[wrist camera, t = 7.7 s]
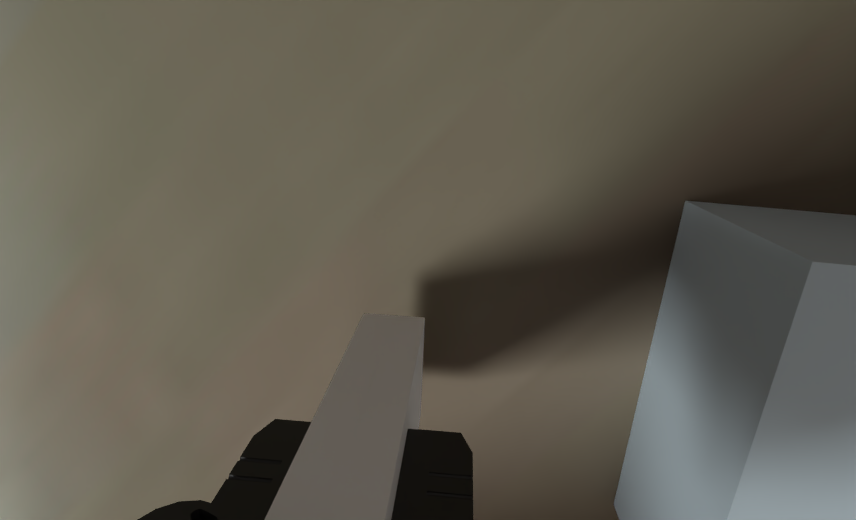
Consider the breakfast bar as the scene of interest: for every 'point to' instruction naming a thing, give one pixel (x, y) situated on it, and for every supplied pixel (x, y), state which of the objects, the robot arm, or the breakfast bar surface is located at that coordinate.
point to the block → (749, 372)
